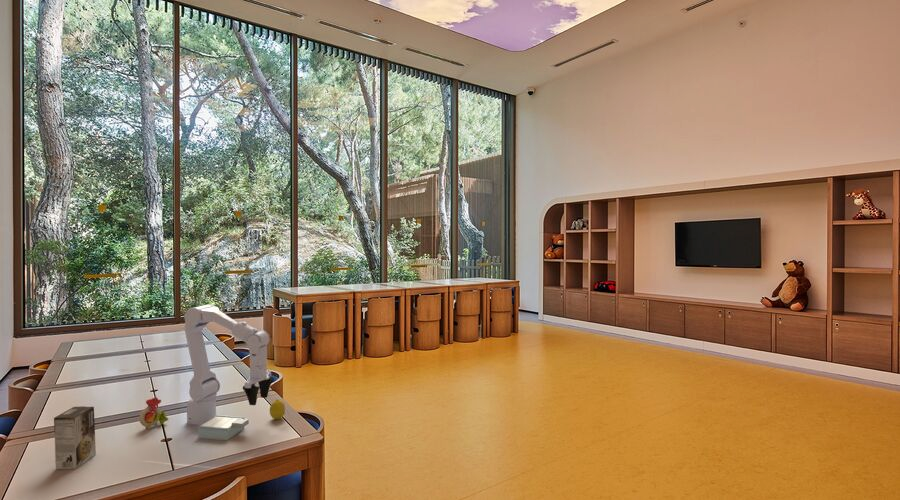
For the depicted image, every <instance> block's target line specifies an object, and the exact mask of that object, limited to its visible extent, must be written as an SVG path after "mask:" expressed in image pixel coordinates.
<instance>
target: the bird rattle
mask: <svg viewBox="0 0 900 500" xmlns="http://www.w3.org/2000/svg"><path fill="white" fill-rule="evenodd" d="M160 403H162V399H158V397H157V396H155V397H153V398H151V399H147V400H146V401H145V404H146V405H147V407H144V409H142V411H141V412H140V415H139V423H140V424H141V425H142V426H143V427H144V428H145V429H146V430H148V429H150V428H151V427H154V426H155V425H156V424H157V423H158V424H160V425H164V424H165V422H167V421H168V422H169V418H168V417H167V416H166V413H165V412H164V411H160V408H159V407H157V406H158V405H159V404H160Z"/></svg>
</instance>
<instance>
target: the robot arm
mask: <svg viewBox="0 0 900 500" xmlns="http://www.w3.org/2000/svg"><path fill="white" fill-rule="evenodd" d="M183 318H184V323H185V324H184V332H185V333H184V334H185V339H186V343H187V347H188V351H189V353H188V354H189V357H190V361H191V367H192V372H193V377H191V380H190V381H189V393H188V394H189V397H190V399H189V400H188V401H187V405H186V422H185V424H186V425H197V426H201V425H203V424H205V423H206V422H208V421H209V420H211V419H213V418H214V417H216V415H217V402H216V400H217V399H216V397H217V395H218V392H219V391H220V389H221V383H220V381H219V380H218V378H217V374H216V373H215V372H213V371H211V368H210V364H209V360H208V358H209V357H208V354H207V353H208V352H207V349H206V345H205V339H204V335H203V330H204V328H205V327H206V326H207V324H209V323H212V322H213V323H215V324H218V325H219V326H222V327H224V328H226V329H228V330H230V331H231V334H232V336H234V337H235V338H237V339H239V340H241V341H242V342H244V343H245V344H246V347H248V353H249V377H248V379H247V380H245V382H244V385H243V386H242V390H243V392H244V393H245V395H246V397H247V401H248V404H249V406H256V405H257V400H258V392H259V394H260V398H261V399H262V398H263V399H266V398H267V397H268V395H269V392H270V391H269V390H270V387H271V384H272V383H273V380H274V377H272V370H268V369H267V368H268V367H267V366H268V363H267V361H268V358H267V357H268V356H267V355H268V354H267V353H268V350H267V348H268V347H267V345H268V344H270V341H271V337H270V335H269V334H270V333H268V332H267V331H266V330H264V329H262V330H258V329H259V328H257V327H253V326H251V325H250V324H248V322H247V321H239V322H237V321H236V320H234V319H233V318H232V317H230V316H228V314H226V313H224V312H222V311H221V310H220V308H219V307H217V306H215V305H214V304H212V303H207V304H205V305H200V306H196V307H190V308H188V309H187V311H185V312H184V315H183ZM257 383H258V386H256V384H257Z"/></svg>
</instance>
